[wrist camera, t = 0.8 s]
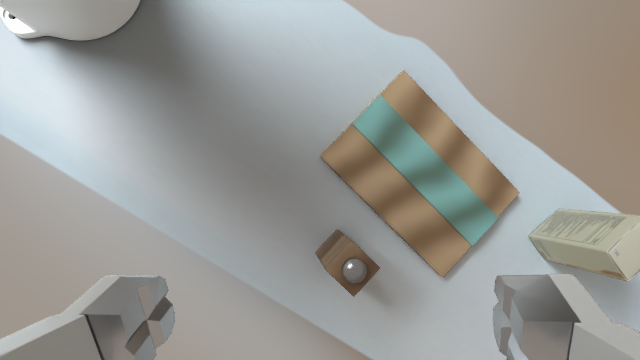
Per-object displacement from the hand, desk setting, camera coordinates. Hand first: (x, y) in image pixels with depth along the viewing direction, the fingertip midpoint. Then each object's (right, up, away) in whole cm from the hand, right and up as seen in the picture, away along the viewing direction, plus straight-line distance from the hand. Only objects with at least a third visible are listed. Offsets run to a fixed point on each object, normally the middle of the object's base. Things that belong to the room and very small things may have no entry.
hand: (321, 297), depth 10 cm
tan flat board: (+13, +4, +41) cm, 43 cm away
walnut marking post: (+2, -6, +39) cm, 40 cm away
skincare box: (+32, -4, +44) cm, 54 cm away
